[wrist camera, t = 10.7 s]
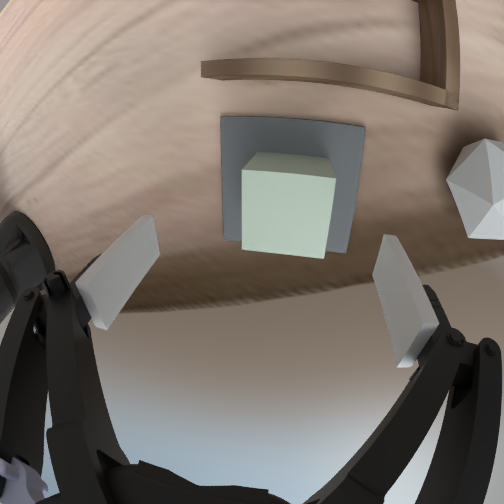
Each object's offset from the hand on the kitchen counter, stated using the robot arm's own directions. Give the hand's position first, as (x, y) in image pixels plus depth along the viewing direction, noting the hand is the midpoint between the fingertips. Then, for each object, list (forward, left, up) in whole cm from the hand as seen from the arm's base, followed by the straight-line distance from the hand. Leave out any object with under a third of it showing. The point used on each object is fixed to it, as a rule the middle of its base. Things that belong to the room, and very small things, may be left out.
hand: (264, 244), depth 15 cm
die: (+19, +4, -11) cm, 22 cm away
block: (+1, 0, -10) cm, 10 cm away
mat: (+1, 0, -11) cm, 11 cm away
